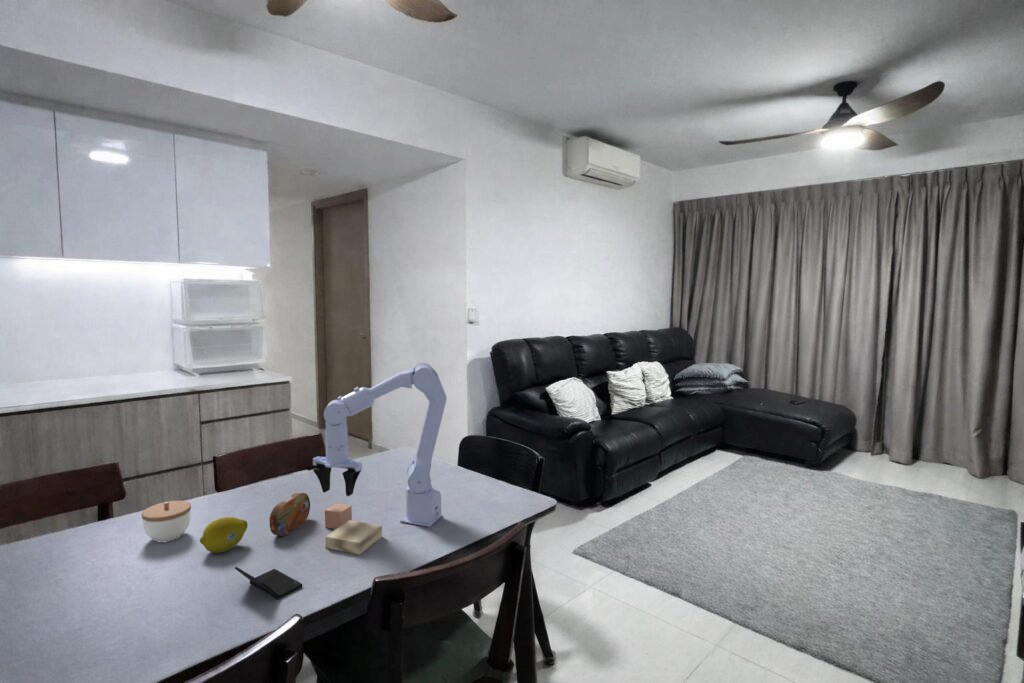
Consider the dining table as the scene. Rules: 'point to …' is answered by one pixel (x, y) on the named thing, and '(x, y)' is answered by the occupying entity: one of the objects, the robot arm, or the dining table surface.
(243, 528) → the lemon
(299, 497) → the tin
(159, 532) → the lidded jar
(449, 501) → the dining table surface
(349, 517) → the terracotta cube
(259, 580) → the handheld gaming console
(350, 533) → the birch block
